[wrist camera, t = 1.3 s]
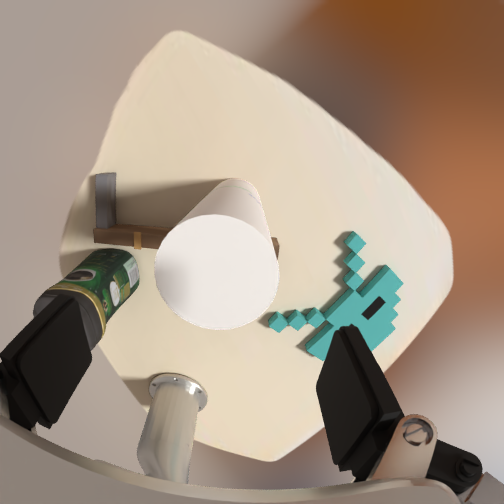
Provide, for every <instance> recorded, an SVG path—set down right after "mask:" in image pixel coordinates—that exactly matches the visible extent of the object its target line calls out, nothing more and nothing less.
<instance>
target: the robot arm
mask: <svg viewBox="0 0 504 504" xmlns="http://www.w3.org/2000/svg"><path fill="white" fill-rule="evenodd" d="M0 358H1V360H2V362H1V363H0V504H504V484H502V483H501V482H499V481H498V480H497V479H496V478H494V477H493V476H492V475H490V474H489V473H488V472H485V473H484V474H483V473H482V464H481V462H480V460H479V459H478V458H477V456H475V455H474V454H472V453H470V452H467V451H464V450H462V449H459V448H457V447H455V446H452V445H450V444H447V443H445V442H443V441H440V440H438V439H437V430H436V427H435V426H434V424H433V423H432V422H431V421H430V420H429V419H428V418H426V417H424V416H422V415H418V414H410V415H407V416H404V414H403V412H402V410H401V408H400V406H399V404H398V401H397V399H396V397H395V396H394V394H393V391H392V389H391V387H390V386H389V384H388V382H387V380H386V378H385V376H384V374H383V372H382V370H381V368H380V366H379V365H378V363H377V362H376V360H375V358H374V356H373V354H372V352H371V350H370V349H369V347H368V345H367V343H366V341H365V339H364V338H363V336H362V334H361V332H360V330H359V328H358V327H357V326H341V327H340V328H339V330H335V332H334V334H333V337H332V340H331V343H330V346H329V349H328V352H327V355H326V358H325V361H324V364H323V367H322V370H321V372H320V375H319V378H318V381H317V384H316V392H317V396H318V400H319V404H320V408H321V412H322V416H323V421H324V425H325V429H326V433H327V438H328V441H329V446H330V451H331V455H332V459H333V463H334V464H335V465H338V466H339V470H340V472H341V471H347V470H352V474H353V476H354V478H353V479H352V481H351V482H350V483H348V484H342V485H334V486H326V487H316V488H303V489H285V490H244V489H227V488H215V487H206V486H198V485H191V484H188V475H189V467H190V459H191V451H192V446H193V439H194V433H195V426H196V420H197V414H198V412H199V411H201V410H202V409H203V408H204V407H205V406H206V404H207V393H206V391H205V389H204V388H203V387H202V386H201V385H200V384H199V383H197V382H196V381H194V380H193V379H191V378H188V377H186V376H183V375H178V374H162V375H158V376H156V377H155V378H154V379H152V381H151V383H150V386H149V393H150V395H151V397H152V398H153V400H152V403H151V406H150V409H149V412H148V415H147V419H146V422H145V425H144V428H143V431H142V435H141V438H140V441H139V444H138V448H137V458H138V461H139V463H140V465H141V467H142V469H143V471H144V473H145V474H146V475H143V474H140V473H135V472H132V471H130V470H127V469H124V468H121V467H118V466H116V465H113V464H110V463H108V462H105V461H102V460H92V459H90V458H87V457H84V456H82V455H79V454H77V453H74V452H72V451H69V450H67V449H65V448H62V447H61V446H58V445H56V444H54V443H52V442H50V441H48V440H46V439H44V438H42V437H40V436H38V435H37V431H36V427H35V424H36V422H38V423H39V424H40V425H42V426H44V427H46V428H48V429H50V428H51V426H52V424H54V423H56V422H57V421H58V419H59V417H60V415H61V413H62V412H63V410H64V408H65V406H66V404H67V403H68V401H69V399H70V397H71V396H72V394H73V392H74V391H75V389H76V387H77V385H78V384H79V382H80V380H81V379H82V377H83V375H84V374H85V372H86V370H87V369H88V367H89V366H90V363H91V361H92V354H91V351H90V347H89V344H88V340H87V336H86V332H85V328H84V324H83V320H82V316H81V311H80V307H79V303H78V301H76V299H75V297H74V296H71V295H66V294H59V295H58V296H57V297H56V298H54V299H53V300H52V301H51V302H50V303H49V304H48V305H47V306H46V307H45V308H44V309H43V310H42V311H41V312H40V313H39V314H38V315H37V316H36V317H35V318H34V319H33V320H32V321H31V322H30V323H29V324H28V325H27V326H26V327H25V328H24V329H23V330H22V331H21V332H20V333H19V334H18V335H17V336H16V337H15V338H14V339H13V340H12V341H11V342H10V343H9V344H8V345H7V346H6V348H5V349H4V350H3V351H2V352H1V353H0Z"/></svg>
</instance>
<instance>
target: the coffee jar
mask: <svg viewBox="0 0 504 504" xmlns="http://www.w3.org/2000/svg"><path fill="white" fill-rule="evenodd" d="M138 285H139V270H138V266H137V263H136V260H135V258H134V257H133V256H132V255H131V254H130V253H129V252H127V251H124V250H117V249H104V250H98V251H94V252H93V253H92V254H90V255H89V256H88V257H87V258H86V259H85V260H84V261H83V262H82V263H81V264H79V265H78V266H77V267H76V268H75V269H74V270H73V271H72V272H71V273H70V274H68V275H67V276H66V277H65V278H64V279H63V280H61V281H60V282H59V283H57V284H55V285H53V286H52V287H50V288H49V289H47V290H46V291H45V292H44V293H43V294H42V295H41V296H40V297H39V299H38V300H37V301H36V303H35V305H34V310H33V315H34V318H35V317H36V316H37V315H38V314H39V313H40V312H41V311H42V310H43V309H44V308H45V307H46V306H47V305H48V304H49V303H50V302H51V301H52V300H53V299H54V298H56V297H57V296H58V295H59V294H66V295H71V296H74V297H75V299H76V301H78V303H79V307H80V311H81V316H82V320H83V324H84V328H85V332H86V336H87V340H88V344H89V347H90V351H91V350H92V349H93V348H94V347H95V346H96V344H97V343H98V342H99V341H100V340H101V339H102V337H103V335H104V333H105V329H106V323H107V322H108V320H109V319H110V318H111V317H112V315H113V314H114V313H115V312H116V311H117V310H118V309H119V307H120V306H121V305H122V304H123V303H124V302H125V301H126V300H127V299H128V298H129V297H130V296H131V295H132V294H133V292H134V291H135V290H136V289H137V287H138Z"/></svg>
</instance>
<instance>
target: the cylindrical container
mask: <svg viewBox="0 0 504 504" xmlns="http://www.w3.org/2000/svg"><path fill="white" fill-rule="evenodd" d="M155 279H156V284H157V287H158V290H159V292H160V294H161V296H162V298H163V300H164V301H165V302H166V304H167V305H168V307H169V308H170V309H171V310H172V311H173V312H174V313H175V314H177V315H178V316H179V317H181V318H182V319H184V320H185V321H187V322H189V323H191V324H193V325H196V326H199V327H202V328H206V329H214V330H226V329H233V328H237V327H241V326H243V325H246V324H248V323H250V322H252V321H253V320H255V319H256V318H258V317H259V316H260V315H261V314H263V313H264V312H265V311H266V310H267V308H268V307H269V305H270V304H271V303H272V301H273V299H274V297H275V295H276V292H277V289H278V284H279V265H278V261H277V258H276V254H275V250H274V246H273V243H272V239H271V235H270V232H269V228H268V225H267V221H266V218H265V214H264V211H263V207H262V204H261V200H260V197H259V194H258V192H257V190H256V189H255V187H254V186H253V185H252V184H251V183H249V182H248V181H246V180H243V179H238V178H231V179H227V180H225V181H223V182H221V183H220V184H218V185H217V186H216V187H215V188H214V189H213V190H212V191H211V192H210V193H209V194H208V195H207V196H206V197H204V198H203V199H202V200H201V201H200V202H199V203H198V204H197V205H196V206H195V207H194V208H193V209H192V210H191V211H190V212H189V213H188V214H187V215H186V216H185V217H184V218H183V219H182V220H181V221H180V222H179V223H178V224H177V225H176V226H175V227H174V228H173V229H172V230H171V231H170V232H169V233H168V235H167V236H166V237H165V238H164V240H163V241H162V243H161V245H160V247H159V249H158V251H157V255H156V259H155Z"/></svg>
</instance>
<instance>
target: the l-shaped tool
mask: <svg viewBox="0 0 504 504" xmlns="http://www.w3.org/2000/svg"><path fill="white" fill-rule="evenodd" d="M96 227H97V228H95V229H94V230H93V232H94V243H103V244H113V245H123V246H132V247H134V249H141V247H142V248H152V249H159V247H160V245H161V243H162V241H163V240H164V238H165V237H166V236H167V235H168V233H169V232H170V231H171V230H172V229H173V228H163V227H151V226H139V225H126V224H116V173H101V174H96ZM271 239H272V243H273V246H274V250H275V254H276V258H277V260H278V253H279V244H278V241H277V238H272V237H271Z"/></svg>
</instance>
